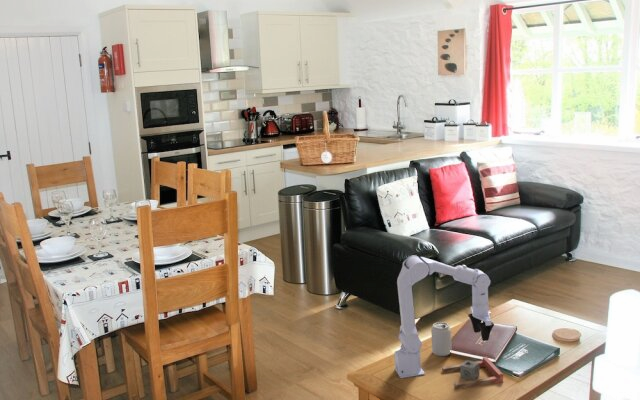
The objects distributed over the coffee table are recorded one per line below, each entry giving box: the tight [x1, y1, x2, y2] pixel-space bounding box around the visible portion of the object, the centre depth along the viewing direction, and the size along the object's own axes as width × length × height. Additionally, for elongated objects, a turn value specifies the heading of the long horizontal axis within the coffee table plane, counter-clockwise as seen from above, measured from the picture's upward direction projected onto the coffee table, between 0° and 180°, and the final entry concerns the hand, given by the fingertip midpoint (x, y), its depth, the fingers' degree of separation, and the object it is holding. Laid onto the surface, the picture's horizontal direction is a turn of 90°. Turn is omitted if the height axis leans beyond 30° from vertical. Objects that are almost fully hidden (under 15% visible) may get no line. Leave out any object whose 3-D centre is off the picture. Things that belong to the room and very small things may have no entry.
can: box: [430, 321, 452, 357], centre depth 242 cm, size 8×8×12 cm
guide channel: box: [441, 356, 504, 390], centre depth 223 cm, size 18×14×3 cm
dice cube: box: [459, 359, 480, 381], centre depth 223 cm, size 5×5×5 cm
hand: (481, 336), depth 232 cm, fingers open, 7 cm apart
